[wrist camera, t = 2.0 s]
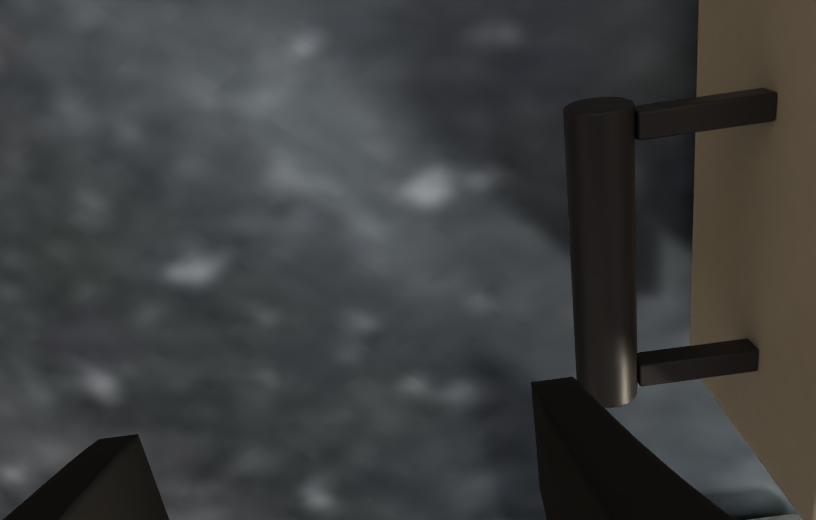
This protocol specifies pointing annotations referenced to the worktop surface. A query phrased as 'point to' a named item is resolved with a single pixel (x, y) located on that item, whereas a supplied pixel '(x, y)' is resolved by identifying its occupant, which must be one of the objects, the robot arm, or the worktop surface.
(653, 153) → the worktop surface
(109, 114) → the worktop surface
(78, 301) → the worktop surface
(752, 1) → the drawer
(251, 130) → the worktop surface
